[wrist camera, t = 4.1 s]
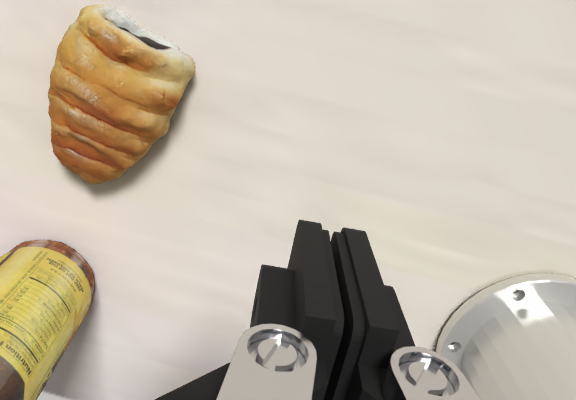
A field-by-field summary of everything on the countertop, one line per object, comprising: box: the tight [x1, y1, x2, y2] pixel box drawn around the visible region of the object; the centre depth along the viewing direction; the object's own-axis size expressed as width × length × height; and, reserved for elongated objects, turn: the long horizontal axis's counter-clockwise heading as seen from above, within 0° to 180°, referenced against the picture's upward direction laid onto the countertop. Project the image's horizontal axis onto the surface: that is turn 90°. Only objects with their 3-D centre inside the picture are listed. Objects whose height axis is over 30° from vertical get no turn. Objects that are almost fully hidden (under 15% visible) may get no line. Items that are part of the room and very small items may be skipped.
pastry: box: [48, 5, 195, 184], centre depth 26 cm, size 9×7×4 cm
